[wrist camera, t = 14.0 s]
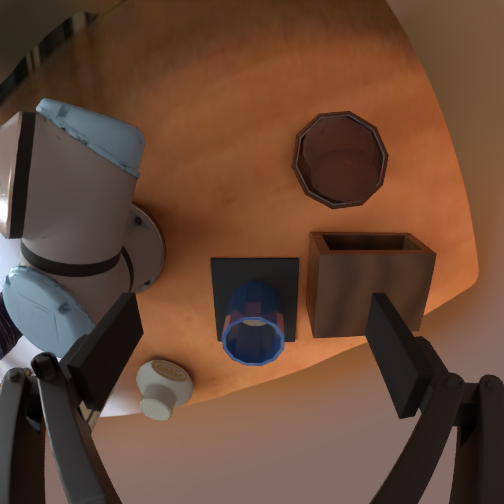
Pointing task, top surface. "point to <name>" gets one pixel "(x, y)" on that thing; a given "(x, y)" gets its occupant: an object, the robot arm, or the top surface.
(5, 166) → the robot arm
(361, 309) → the shelf
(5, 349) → the storage jar
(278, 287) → the mat
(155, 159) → the top surface
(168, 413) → the air freshener
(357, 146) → the ice cream bowl
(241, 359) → the cup
